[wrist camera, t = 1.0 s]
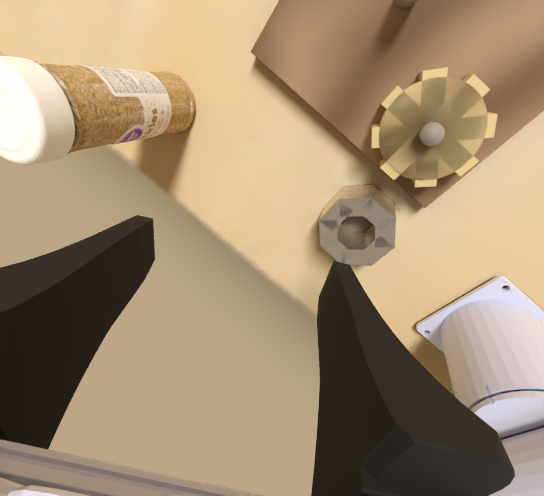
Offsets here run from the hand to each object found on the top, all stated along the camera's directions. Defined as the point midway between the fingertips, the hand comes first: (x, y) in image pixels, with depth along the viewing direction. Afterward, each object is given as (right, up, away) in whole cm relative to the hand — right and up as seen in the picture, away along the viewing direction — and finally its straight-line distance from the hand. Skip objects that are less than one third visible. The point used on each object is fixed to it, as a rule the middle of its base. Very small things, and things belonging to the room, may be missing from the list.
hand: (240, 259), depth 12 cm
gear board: (+10, +13, +7) cm, 17 cm away
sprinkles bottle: (-7, +12, +13) cm, 19 cm away
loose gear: (+8, +3, +12) cm, 15 cm away
